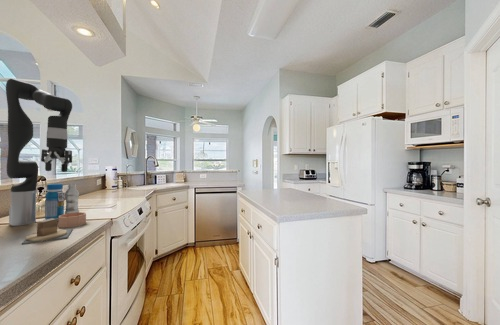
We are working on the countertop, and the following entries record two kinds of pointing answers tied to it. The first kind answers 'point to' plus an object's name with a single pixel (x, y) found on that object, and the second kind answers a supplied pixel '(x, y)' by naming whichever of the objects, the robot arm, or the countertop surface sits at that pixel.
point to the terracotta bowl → (72, 219)
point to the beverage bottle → (54, 201)
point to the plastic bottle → (71, 199)
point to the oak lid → (46, 231)
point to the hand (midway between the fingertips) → (56, 171)
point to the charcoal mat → (51, 239)
